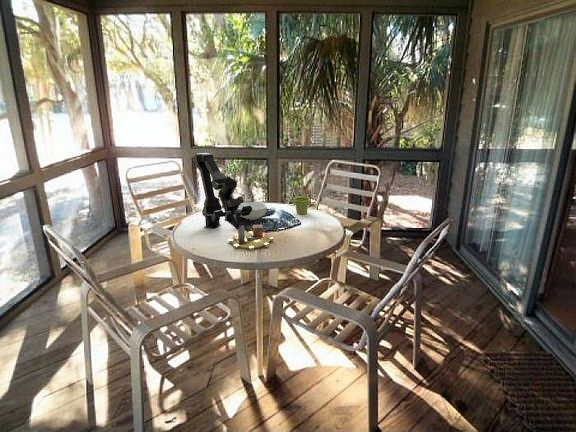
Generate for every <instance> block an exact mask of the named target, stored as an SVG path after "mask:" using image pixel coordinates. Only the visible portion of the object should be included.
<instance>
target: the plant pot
mask: <svg viewBox="0 0 576 432" xmlns="http://www.w3.org/2000/svg"><path fill="white" fill-rule="evenodd" d="M310 200H311V198H309V197H307V196H296V197H294V198H293V201H294V203H295V205H294V206H295V211H296V214H297V215H305V214H308V209H309V204H310Z"/></svg>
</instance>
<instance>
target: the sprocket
mask: <svg viewBox="0 0 576 432" xmlns="http://www.w3.org/2000/svg"><path fill="white" fill-rule="evenodd" d="M271 242H274V237H273V236H271V237H270V236H269V235H268V233H267V232H263V236H260V237H255V236H253V230H251V231H248V232H245V225H242V224H241V225H240V224H239V226H238V230H237V233H236V234H235V233H234V234H233V237H232V238H228V244H232V245H233V246H232V247H233V248H234V249H237V250H238V249H239V248H240V249H245V250H246V249H247V250H249V251H254V250H255V249H260V248H263V247H264V248H268V247H269V246H270V244H271Z"/></svg>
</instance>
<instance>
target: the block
mask: <svg viewBox="0 0 576 432" xmlns="http://www.w3.org/2000/svg"><path fill="white" fill-rule="evenodd" d="M252 231H253V236H255V237H260V236H263V233H264V229H263V224H253V225H252Z"/></svg>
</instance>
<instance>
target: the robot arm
mask: <svg viewBox="0 0 576 432" xmlns="http://www.w3.org/2000/svg"><path fill="white" fill-rule="evenodd" d="M192 161H193V163H194V165H195V167H196V169H198V170H199V173H200V177H201V182H202V185H203V192H204V196H205V199H204V202H203V208H202V210H201V213H202V214H201V215H202V216H203V217H204V219H205V224H204V226H203V227H204V228H210V229H216V228H218V227H219V226H221V223H220V219H221V218H223V217H224V221H225V222H227V223H229V224H230V225H232V227H233V228H234V229H236V230H237V231H238V226H240V218H241V215H242V216H248V215H250V213H251V211H252V210H253V209H252V207H251V206H250V205H247V206H243V207H242V209H239V210H237V208H239V205H241V204H243V203H245V201H244V197H243V196H242V195H241V196H237V198H234V197H233V194H234V192H235V190H236V189H237V185H238V182H237V181H236V180H235V179H234V178H231V176H227V175H226V174H224V173H223V172H221V170H220V168H219V165H217V163H216V161H215V159H214V155H213V153H208V152H203V153H202V152H201V153H195V155H194V156H193V157H192ZM214 190H215V191H218V190H219V191H218V192H217V193H218V196H217V197H216V195H215V192H214ZM220 202H221V203H220ZM221 204H222V205H221ZM222 208H223V210H224V211H223V210H222Z"/></svg>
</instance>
